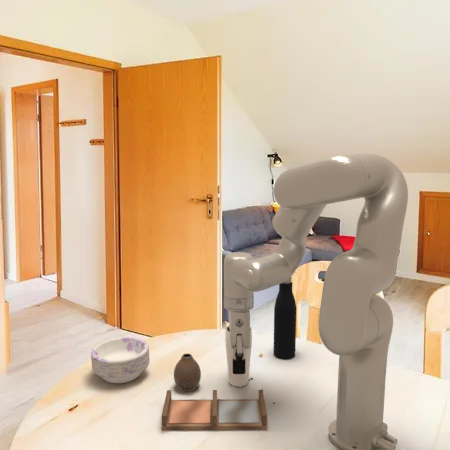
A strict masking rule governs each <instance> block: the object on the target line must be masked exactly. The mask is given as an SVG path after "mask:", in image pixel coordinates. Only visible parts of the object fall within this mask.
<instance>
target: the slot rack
mask: <svg viewBox="0 0 450 450" xmlns="http://www.w3.org/2000/svg"><path fill="white" fill-rule="evenodd" d="M165 393H166V395H165V399H164V404H163V408H162V412H161V431H175V432H176V431H267V430H268V425H267V423H268V414H267V408H266V403H265V402H266V401H265V397H264V396H265V395H264V389H258V398H256V399H255V398H250V399H248V398H247V399H245V398H244V399H243V398H242V399H241V398H239V399H238V398H236V399H235V398H231V399H230V398H229V399H228V398H227V399H222V398H221V399H218V390H217V389H213V390H212V399H173V398H172V390H171V389H168V390H166V392H165Z"/></svg>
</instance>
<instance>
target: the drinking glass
mask: <svg viewBox="0 0 450 450" xmlns="http://www.w3.org/2000/svg"><path fill="white" fill-rule="evenodd" d="M252 330H253V329H252V327H251V326H250V348H249V349H248V348H245V346H244V348H245V374H233V358H234V349H232V348H231V342H230V332H229V325H227V326H226V328H225V338H224V339H225V351H226V363H227V372H228V373H227V375H228V380H227V381H228V383H229V384H230V385H231V386H232V387H237V388H238V387H245V386H246V385H248V384H249V381H250V367H251V365H250V364H251V357H252V356H251V355H252V354H251V353H252V346H253V345H252V343H253V333H252V332H253V331H252ZM235 347H237V335H236V343H235ZM242 347H243V342H242ZM236 352H237V350H236Z"/></svg>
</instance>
